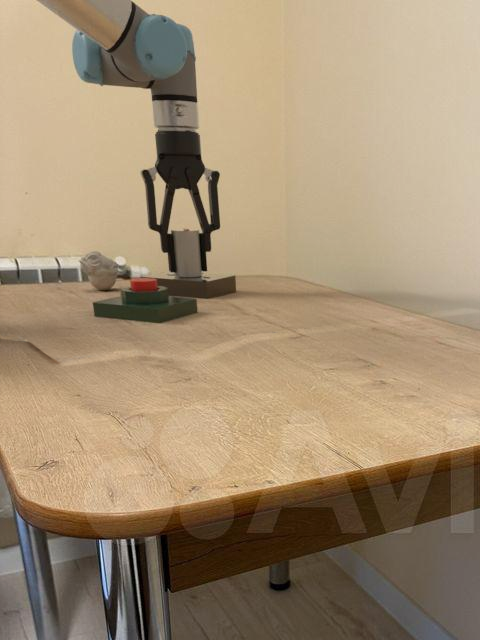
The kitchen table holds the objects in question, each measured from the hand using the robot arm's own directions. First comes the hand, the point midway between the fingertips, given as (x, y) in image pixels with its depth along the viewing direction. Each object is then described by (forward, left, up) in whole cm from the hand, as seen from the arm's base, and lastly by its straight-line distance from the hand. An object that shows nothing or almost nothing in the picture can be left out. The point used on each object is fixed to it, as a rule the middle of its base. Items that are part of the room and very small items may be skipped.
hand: (188, 270), depth 130 cm
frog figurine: (-16, -5, -4) cm, 17 cm away
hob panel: (0, 0, -4) cm, 4 cm away
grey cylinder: (0, 0, -1) cm, 1 cm away
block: (+7, -22, -4) cm, 23 cm away
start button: (+7, -22, 0) cm, 23 cm away
